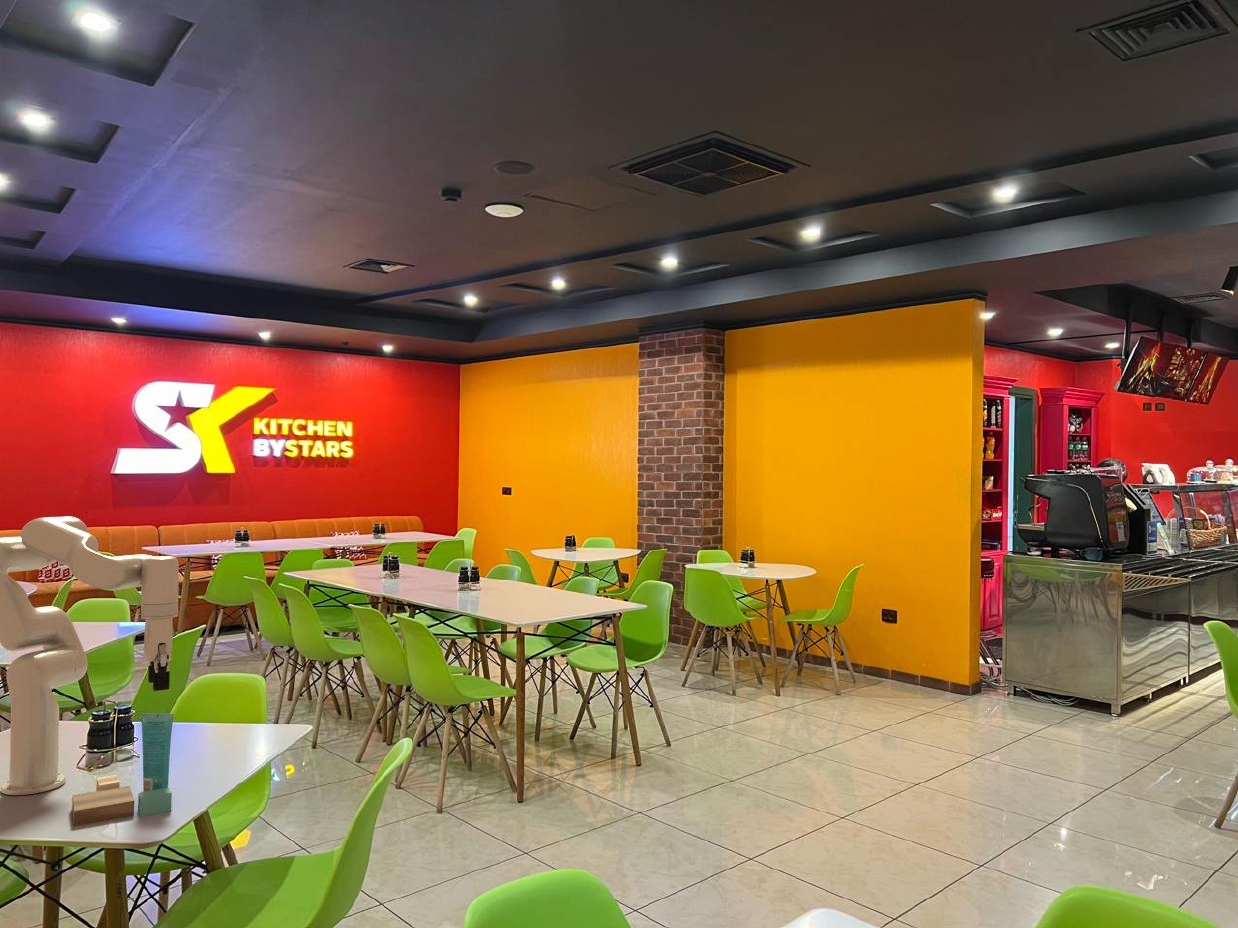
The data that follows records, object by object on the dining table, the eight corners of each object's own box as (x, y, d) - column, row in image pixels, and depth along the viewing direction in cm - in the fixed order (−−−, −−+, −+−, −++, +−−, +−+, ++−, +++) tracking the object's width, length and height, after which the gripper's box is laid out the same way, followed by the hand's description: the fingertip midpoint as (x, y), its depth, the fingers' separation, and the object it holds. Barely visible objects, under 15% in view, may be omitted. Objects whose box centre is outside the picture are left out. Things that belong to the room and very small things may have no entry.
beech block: (96, 795, 199) (96, 777, 199) (116, 791, 201) (116, 774, 201) (98, 803, 194) (99, 785, 194) (119, 799, 196) (119, 781, 197)
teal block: (140, 816, 186) (140, 797, 186) (138, 810, 190) (138, 792, 190) (171, 810, 190) (171, 792, 190) (168, 805, 193) (169, 787, 193)
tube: (176, 794, 200) (178, 710, 200) (167, 801, 195) (169, 715, 195) (142, 795, 199) (144, 711, 199) (133, 802, 194) (135, 716, 195)
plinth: (72, 808, 190) (72, 795, 190) (129, 799, 196) (129, 785, 196) (74, 825, 181) (74, 810, 181) (134, 814, 187) (134, 800, 187)
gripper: (137, 607, 203) (136, 680, 203) (145, 616, 189) (143, 695, 188) (173, 605, 207) (172, 676, 207) (183, 613, 193) (182, 690, 192)
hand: (158, 685), depth 198 cm, fingers open, 9 cm apart
